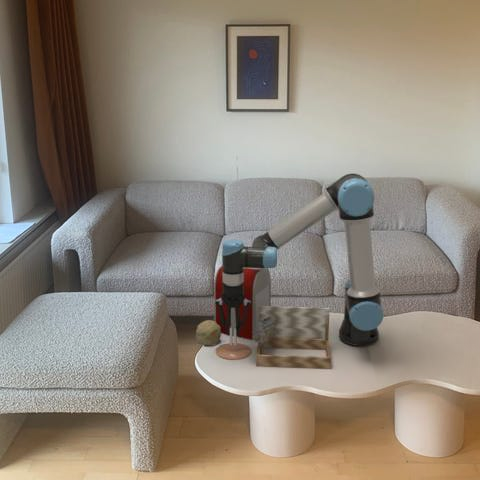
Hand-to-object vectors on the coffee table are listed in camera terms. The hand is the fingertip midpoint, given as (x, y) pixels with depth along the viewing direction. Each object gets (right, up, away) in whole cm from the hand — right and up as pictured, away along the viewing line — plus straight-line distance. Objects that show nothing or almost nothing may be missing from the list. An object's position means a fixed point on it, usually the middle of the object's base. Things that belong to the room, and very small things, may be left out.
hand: (233, 343), depth 243 cm
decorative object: (-13, -2, +10) cm, 16 cm away
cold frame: (+22, -5, -4) cm, 22 cm away
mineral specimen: (+9, +3, -12) cm, 15 cm away
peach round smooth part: (0, -3, +1) cm, 3 cm away
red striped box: (+4, +2, +20) cm, 20 cm away
